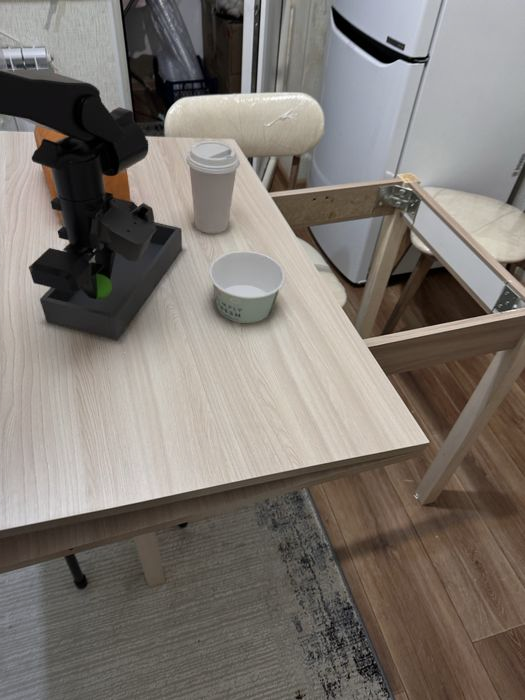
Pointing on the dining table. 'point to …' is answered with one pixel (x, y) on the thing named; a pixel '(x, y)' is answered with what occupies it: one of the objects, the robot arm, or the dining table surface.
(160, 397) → the dining table surface
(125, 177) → the bread
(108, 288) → the pea
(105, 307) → the tray
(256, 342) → the dining table surface
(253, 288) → the food container
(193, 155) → the coffee cup
